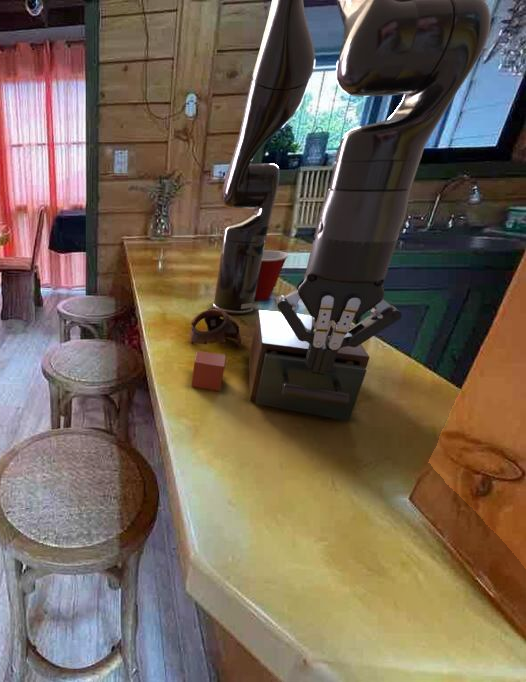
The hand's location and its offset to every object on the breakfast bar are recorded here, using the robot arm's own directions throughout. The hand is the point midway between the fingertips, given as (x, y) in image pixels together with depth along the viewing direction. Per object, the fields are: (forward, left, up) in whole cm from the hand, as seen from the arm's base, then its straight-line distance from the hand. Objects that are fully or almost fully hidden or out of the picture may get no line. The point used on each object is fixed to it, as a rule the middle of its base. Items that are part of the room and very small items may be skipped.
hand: (316, 371), depth 48 cm
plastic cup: (-60, -4, -9) cm, 60 cm away
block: (-8, -13, -9) cm, 17 cm away
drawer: (-6, 0, -8) cm, 10 cm away
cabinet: (-12, 0, -9) cm, 14 cm away
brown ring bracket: (-25, -13, -9) cm, 29 cm away
